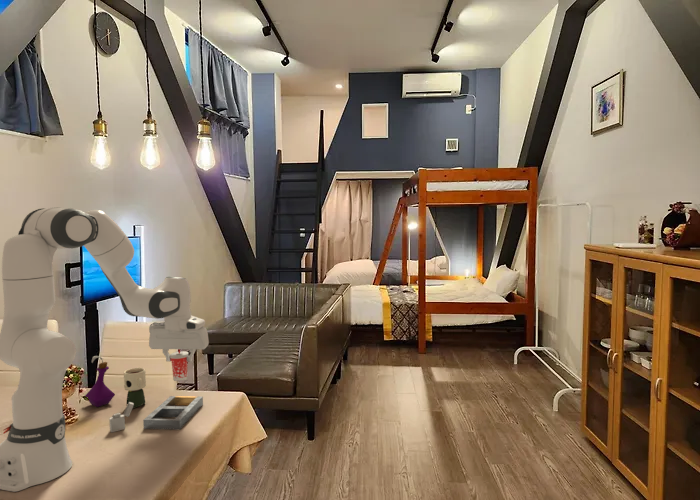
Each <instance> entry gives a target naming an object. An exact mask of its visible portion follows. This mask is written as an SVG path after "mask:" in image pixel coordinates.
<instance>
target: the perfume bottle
mask: <svg viewBox="0 0 700 500" xmlns="http://www.w3.org/2000/svg"><path fill="white" fill-rule="evenodd" d="M98 358H99V359H100V360H101V362H100V363H99V364H98V367H97V368H96V371H97V372H98V375H97V378H96V381H95V382H94V385H93V386H92V387H91V388H90V390H89V391H88V392H87V393H86V394H85V395H84V397H85V396H86V397H88V399H89V401H88V402H89V403H90V404H91V405H92V406H94V407H96V408H100V407H102V406H105V405H106V406H107V405H108V404H110V403H111V401H112V400H113V398H114V397H115V395H116V394H115V392H113V391H112V390H111V389H110V388H109V387H108V386H107V385H106V384H105V382H104V378H105V375H106V372H107V370H109V369H110V368H109V366H108V362H107V361H103V358H102V357H101V356H99V355H94V356H92V359H91V363H92V364H93V363H94V361H95V360H96V359H98Z"/></svg>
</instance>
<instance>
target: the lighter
mask: <svg viewBox="0 0 700 500" xmlns="http://www.w3.org/2000/svg"><path fill="white" fill-rule="evenodd" d="M133 406H134V404H133V403H131V402H128V404H127V406H126V407H125V409H124V412H123V414H121V412H117V413H114V414H113V415H112V416H111V417H109V419H108V420H109V431H110V433H115V432H118V431H121V430H125V429H126V421H125V420H126V419H125V418H126V417H128V418H129V417H130V414H131V412H132V410H133V409H134V408H133Z"/></svg>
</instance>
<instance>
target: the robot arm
mask: <svg viewBox="0 0 700 500" xmlns="http://www.w3.org/2000/svg"><path fill="white" fill-rule="evenodd" d="M17 233H18V234H17V235H14V236H11V237H10V238H8V239H7V240H6V242H4V246H3V248H2V259H1V277H2V279H1V280H2V290H3V302H4V303H3V305H4V307H3V308H4V309H3V311H4V312H3V319H2V324H1V329H0V360H1V361H2V362H3V363H4V364H5V365H7V366H10V367H13V368H17V369H18V370H19V373H20V375H19V381H18V385H17V389H16V391H14V392H13V394H12V396H11V409H12V410H11V412H12V423H11V424H9V426H8V427H5V428H4V429H3V431H4V432H3V433H2V434H6V433H7V432H8V434H7V437H6V439H4V440H3V441H1V442H0V490H3V491H8V492H19V491H23V490H25V489H28V488H29V487H33V486H36V485H41V484H44V483H47V482H50V481H52V480H55V479H56V478H59V477H61V476H63V475H64V474H65V473H67V472H68V471H69V470H70V469H71V468H72V466H73V461H72V458H71V456H70V453H69V450H68V446H67V441H66V417H65V414H64V413H63V393H62V392H63V384H64V378H65V374H66V372H67V370H68V368H69V367H71V365H72V364H73V362H74V361H75V358H76V356H77V355H76V354H77V349H76V345H75V343H74V342H73V340H72V339H70V337H67V336H66V335H64V334H63V333H61V332H58V331H55V330H50V329H48V328H49V327H48V321H49V316H50V313H51V311H52V309H53V308H54V307H55V306H56V290H55V289H56V288H55V277H54V266H53V261H54V256H55V252H56V251H57V250H58V249H59V250H60V249H77V248H81V247H83V248H85V249H86V250H87V252H88V253H89V254H90V256H91V257H92V258H93V259H94V260H95V261H96V262H97V265H99V268H100V269H101V271H102V273H103V275H104V276H105V277H106V279H107V280H108V282H109V283H110V285H111V287H113V289H114V290H115V292H116V293H117V294H118V295H117V296H118V297H119V300H120V304H121V307H122V310H123V311H124V312H125V313H126V315H128V316H130V317H138V318H139V317H141V318H148V319H157V320H158V319H164V321H163V322H161V321H160V322H157V321H155V322H152V323H151V324H150V325H149V326H148V331H149V339H148V340H149V341H148V347H149V348H150V349H151V350H161V351H162V354H163V355H164V356H165V361H166V362H172V361H171V358H170V354H171V353H169V351H170V350H178V349H180V350H189V351H188V353H189V354H188V356H187V362H188V363H189V362H190V363H192V362H193V360H194V354H195V352H196V351H197V350H205V349H206V348H207V347H208V346H209V343H210V341H209V334H208V329H207V328H206V327H205V325H206V320H205V319H204V318H200V317H197V316H194V315H192V311H191V308H190V306H191V305H190V304H191V302H192V301H191V300H192V295H191V287H190V283H189V281H188V279H187V278H185V277H183V276H182V277H180V276H179V277H178V276H166V277H165V278H164V280H163V281H162V282H161V283H160V284H158V285H157V286H155V287H154V288H148V287H147V288H146V287H143V286H140V285H138V284H137V283H136V282H135V281H134V278H132V276H131V275H130V273H129V272H128V270H127V268H126V267H127V266H128V265H129V264H130V263H131V262H132V260H133V259H134V255H135V248H134V246H133V243H132V241H131V240H130V239H129V237H128V236H127V234H126V233H125V232H124V231H123V230H122V228H121V227H120V226H119V225H118V224H117V223H116V221H114V220H113V219H112V218H111V217H110V216H109V215H108V214H107V213H106V212H104V211H103V210H99V209H91V210H88V211H85V212H84V211H83V210H80V209H77V208H64V207H47V208H38V209H35V210H32V211H31V212H29V213H28V214H26V216H25V218H24V219H23V220H22V224H21V227H20V229H19V231H18V232H17Z"/></svg>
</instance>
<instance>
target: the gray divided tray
mask: <svg viewBox="0 0 700 500" xmlns="http://www.w3.org/2000/svg"><path fill="white" fill-rule="evenodd" d="M203 405H204V397H203V396H199V395H198V396H197V395H196V396H193V395H189V396H188V395H185V396H184V395H183V396H182V395H181V396H180V395H179V396H178V395H169V397H168V398H167V399H165V400H164V401H163V402H162V403H161V404H159V406H158V407H156V408H155V409H154V410H152V411H151V412H150V413H149V414H148V415H147V416H146V417H145V418H144V419H143V420H142V423H143V425H142V426H143V429H144V430H181V429H182V428H183V427H184V426H185V425H186V424H187V423H188V422H189V421H190V419H191V418H192V417H193V416H194V415H195V414H196V413H197V412H198V410H200V409H201V407H203Z"/></svg>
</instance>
